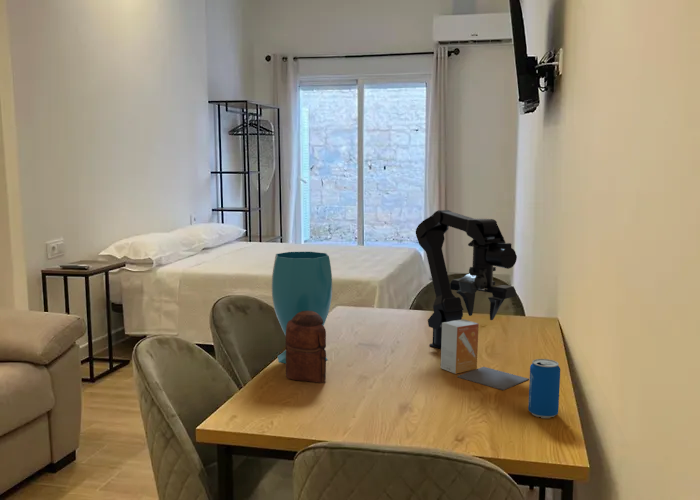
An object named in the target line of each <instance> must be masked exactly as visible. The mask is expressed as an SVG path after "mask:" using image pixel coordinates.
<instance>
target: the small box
mask: <svg viewBox="0 0 700 500" xmlns="http://www.w3.org/2000/svg"><path fill="white" fill-rule="evenodd" d="M479 327H480V326H479V323H478V322H475V321H471V320H469V319H468V320H467V319H464V318H462V319H461V320H455V321H449V322H443V323H442V339H441V349H440V369H442V370H444V371H448V372H450V373H452V374H454V375H455V374H460V373H467V372H470V371H473V370H476V369H478V349H479Z"/></svg>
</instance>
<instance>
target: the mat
mask: <svg viewBox="0 0 700 500" xmlns="http://www.w3.org/2000/svg"><path fill="white" fill-rule="evenodd" d="M457 378H459V379H462V380H467V381H470V382H473V383H475V384H476V383H477V384H480V385H483V386H487V387H490V388H494V389H498V390H501V391H505V390H507V389H510V388H512V387H515V386H516V385H519V384H522V383H524V382H526V381H530V378H529V377H524V376H521V375H516V374H514V373H509V372H505V371H501V370H498V369H494V368H491V367H486V366H480V367H477V369H476V370H471V371H466V372H463V373H462V374H459V375H457Z"/></svg>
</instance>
